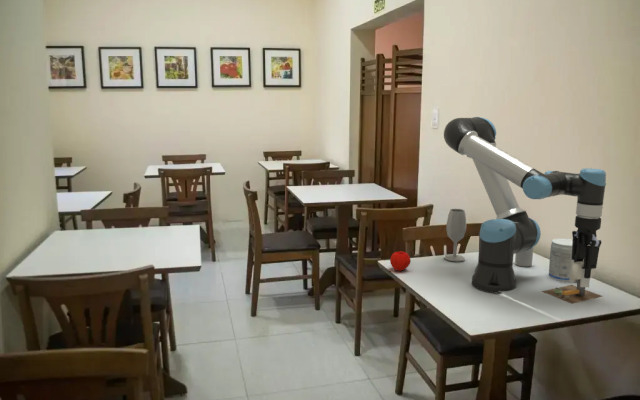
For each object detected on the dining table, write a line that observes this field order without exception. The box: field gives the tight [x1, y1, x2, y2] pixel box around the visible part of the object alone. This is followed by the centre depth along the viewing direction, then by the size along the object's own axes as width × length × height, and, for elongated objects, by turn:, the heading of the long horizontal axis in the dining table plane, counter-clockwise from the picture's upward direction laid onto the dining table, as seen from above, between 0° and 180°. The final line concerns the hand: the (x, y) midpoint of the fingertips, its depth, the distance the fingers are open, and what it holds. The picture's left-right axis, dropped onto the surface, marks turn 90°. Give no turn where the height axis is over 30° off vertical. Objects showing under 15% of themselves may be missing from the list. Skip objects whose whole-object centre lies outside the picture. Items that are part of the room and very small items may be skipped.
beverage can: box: [514, 247, 534, 268], centre depth 207 cm, size 6×6×12 cm
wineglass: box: [443, 208, 467, 263], centre depth 213 cm, size 9×9×21 cm
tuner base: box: [541, 284, 603, 305], centre depth 174 cm, size 15×12×2 cm
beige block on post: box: [562, 260, 595, 296], centre depth 171 cm, size 12×3×11 cm, turn 109°
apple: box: [389, 250, 412, 272], centre depth 199 cm, size 8×8×7 cm
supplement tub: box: [548, 238, 574, 283], centre depth 189 cm, size 10×10×15 cm
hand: (581, 284), depth 172 cm, fingers closed on beige block on post, 3 cm apart
